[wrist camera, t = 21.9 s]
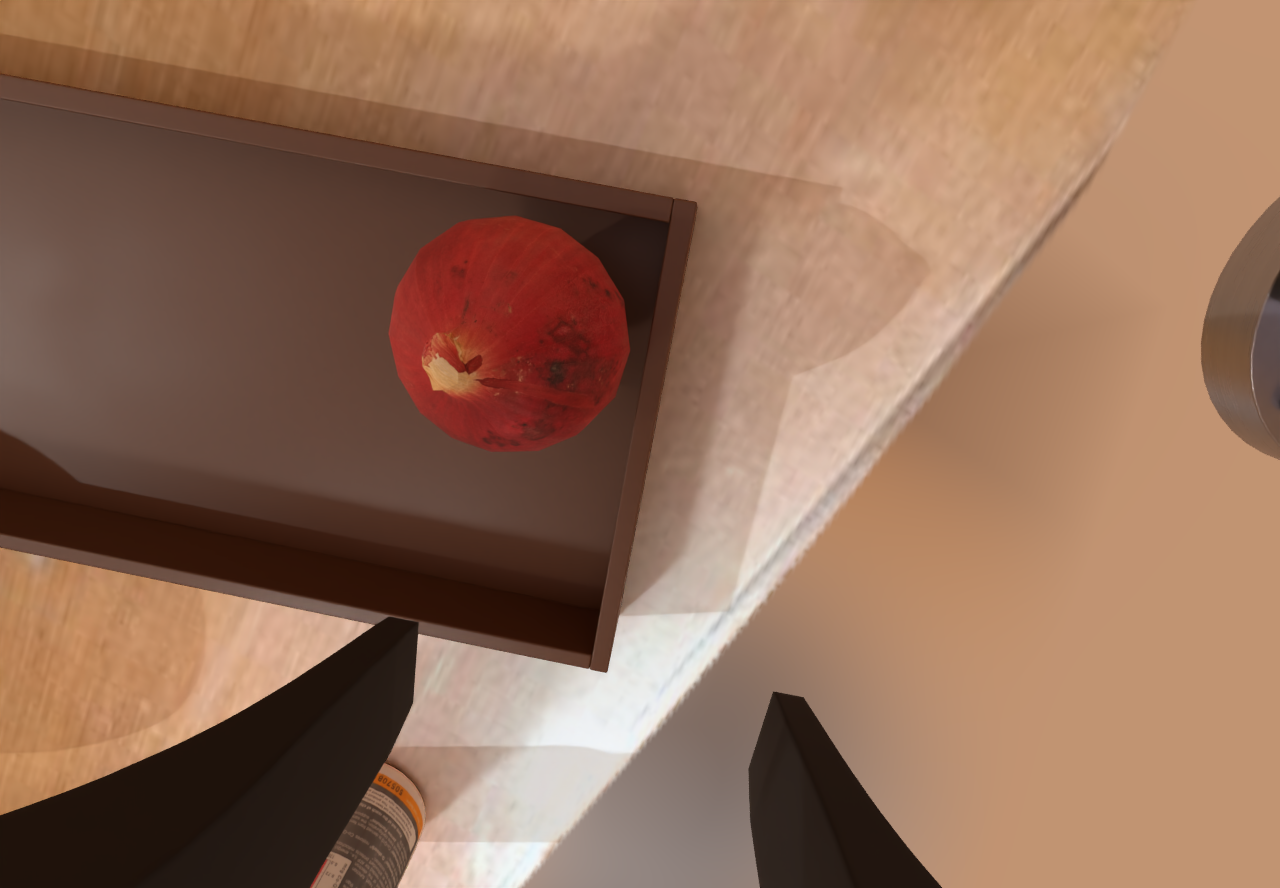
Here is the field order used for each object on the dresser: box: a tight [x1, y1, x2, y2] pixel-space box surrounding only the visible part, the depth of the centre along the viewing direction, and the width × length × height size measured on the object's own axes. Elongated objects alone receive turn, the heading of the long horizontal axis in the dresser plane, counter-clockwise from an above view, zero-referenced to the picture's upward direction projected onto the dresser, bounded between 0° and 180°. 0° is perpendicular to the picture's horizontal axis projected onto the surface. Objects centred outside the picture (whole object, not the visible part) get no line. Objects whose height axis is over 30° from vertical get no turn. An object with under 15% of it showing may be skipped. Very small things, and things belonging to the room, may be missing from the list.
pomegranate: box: [389, 216, 630, 452], centre depth 15 cm, size 6×6×8 cm
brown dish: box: [0, 74, 698, 673], centre depth 20 cm, size 30×15×3 cm, turn 80°
